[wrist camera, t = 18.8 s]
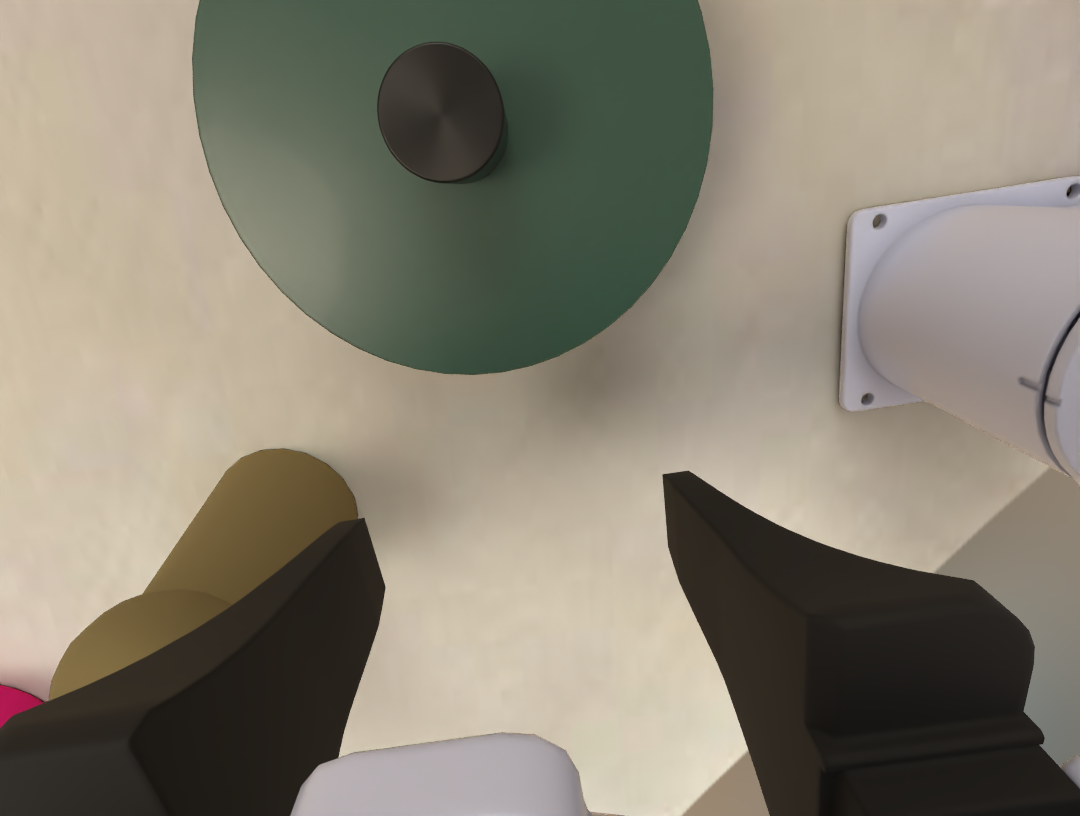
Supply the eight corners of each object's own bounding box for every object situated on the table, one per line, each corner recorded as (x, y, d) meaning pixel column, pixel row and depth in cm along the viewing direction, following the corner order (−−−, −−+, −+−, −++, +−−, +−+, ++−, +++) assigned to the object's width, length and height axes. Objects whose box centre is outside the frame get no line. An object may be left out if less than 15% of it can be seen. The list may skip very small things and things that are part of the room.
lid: (687, -224, 12) (768, -423, 8) (709, 330, 17) (768, 374, 13) (133, -126, 13) (-48, -272, 9) (300, 392, 17) (233, 455, 13)
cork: (209, 443, 24) (-30, 639, 13) (356, 454, 24) (233, 653, 14) (224, 563, 26) (28, 811, 16) (358, 571, 26) (254, 818, 16)
